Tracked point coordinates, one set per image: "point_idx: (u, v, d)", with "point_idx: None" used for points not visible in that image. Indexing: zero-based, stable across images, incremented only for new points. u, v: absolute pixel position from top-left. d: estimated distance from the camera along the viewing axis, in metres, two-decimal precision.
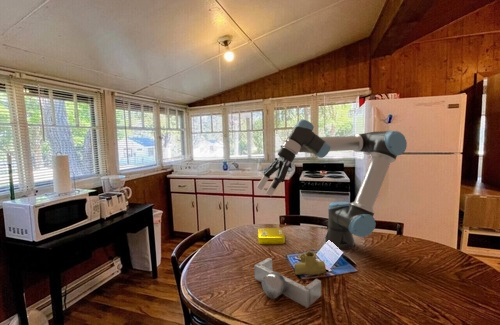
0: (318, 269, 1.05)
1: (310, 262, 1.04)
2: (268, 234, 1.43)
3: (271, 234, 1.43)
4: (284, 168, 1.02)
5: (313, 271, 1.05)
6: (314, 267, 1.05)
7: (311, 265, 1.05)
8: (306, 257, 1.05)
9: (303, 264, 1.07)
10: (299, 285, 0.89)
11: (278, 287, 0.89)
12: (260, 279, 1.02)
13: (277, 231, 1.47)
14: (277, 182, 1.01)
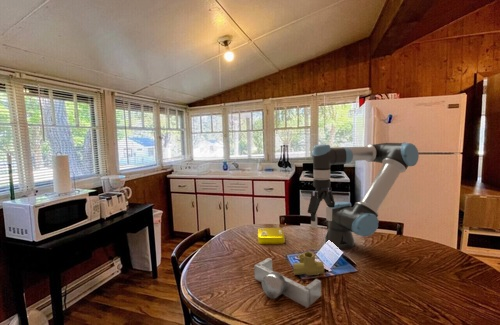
0: (316, 269, 1.04)
1: (308, 262, 1.04)
2: (268, 234, 1.43)
3: (271, 234, 1.43)
4: (311, 199, 1.09)
5: (311, 271, 1.04)
6: (312, 267, 1.05)
7: (309, 265, 1.04)
8: (304, 257, 1.05)
9: (302, 264, 1.07)
10: (299, 285, 0.89)
11: (278, 287, 0.89)
12: (260, 279, 1.02)
13: (277, 231, 1.47)
14: (312, 215, 1.09)
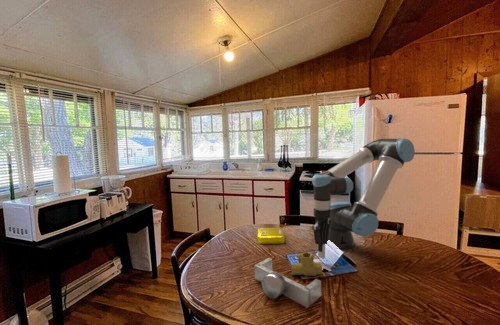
0: (314, 270, 1.04)
1: (306, 263, 1.04)
2: (268, 234, 1.43)
3: (271, 234, 1.43)
4: (315, 233, 1.13)
5: (309, 272, 1.04)
6: (310, 268, 1.04)
7: (307, 266, 1.04)
8: (302, 258, 1.05)
9: (300, 264, 1.06)
10: (299, 285, 0.89)
11: (278, 287, 0.89)
12: (260, 279, 1.02)
13: (277, 231, 1.47)
14: (319, 245, 1.15)
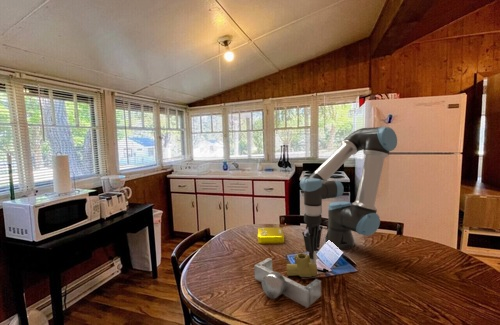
0: (309, 272, 1.02)
1: (301, 264, 1.03)
2: (268, 233, 1.44)
3: (271, 233, 1.43)
4: (305, 240, 1.08)
5: (304, 273, 1.03)
6: (305, 269, 1.03)
7: (302, 267, 1.03)
8: (297, 259, 1.04)
9: (295, 265, 1.05)
10: (299, 285, 0.89)
11: (278, 287, 0.89)
12: (260, 279, 1.02)
13: (277, 231, 1.48)
14: (310, 252, 1.10)
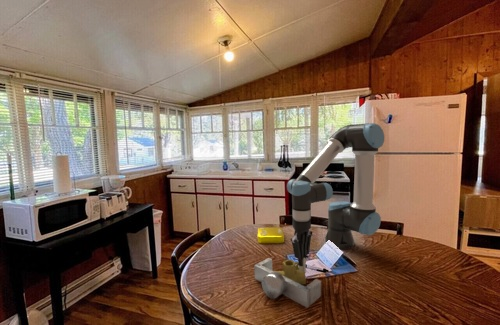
0: (297, 280, 0.97)
1: (288, 271, 0.97)
2: (267, 233, 1.44)
3: (270, 233, 1.44)
4: (294, 246, 1.02)
5: None
6: (293, 277, 0.98)
7: (289, 275, 0.98)
8: (284, 266, 0.98)
9: (282, 273, 1.00)
10: (299, 285, 0.89)
11: (278, 287, 0.89)
12: (260, 279, 1.02)
13: (277, 230, 1.48)
14: (299, 259, 1.05)
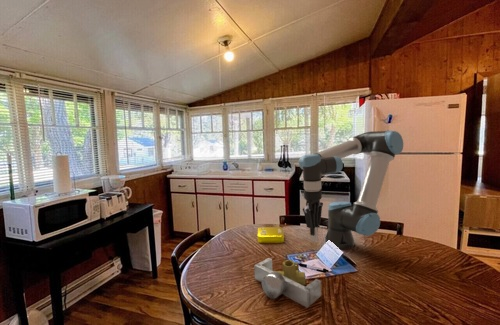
0: (296, 280, 0.97)
1: (288, 272, 0.97)
2: (267, 233, 1.44)
3: (270, 233, 1.44)
4: (306, 216, 1.07)
5: None
6: (292, 277, 0.98)
7: (289, 275, 0.98)
8: (284, 266, 0.98)
9: (282, 273, 1.00)
10: (299, 285, 0.89)
11: (278, 287, 0.89)
12: (260, 279, 1.02)
13: (277, 230, 1.48)
14: (311, 229, 1.09)
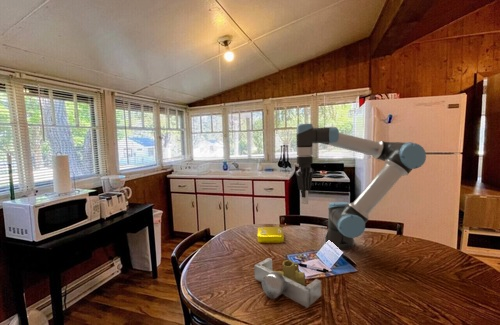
0: (295, 280, 0.97)
1: (287, 272, 0.97)
2: (267, 233, 1.45)
3: (270, 233, 1.44)
4: (298, 178, 1.18)
5: None
6: (291, 278, 0.98)
7: (288, 275, 0.98)
8: (283, 266, 0.98)
9: (281, 273, 1.00)
10: (299, 285, 0.89)
11: (278, 287, 0.89)
12: (260, 279, 1.02)
13: (277, 230, 1.48)
14: (302, 191, 1.21)
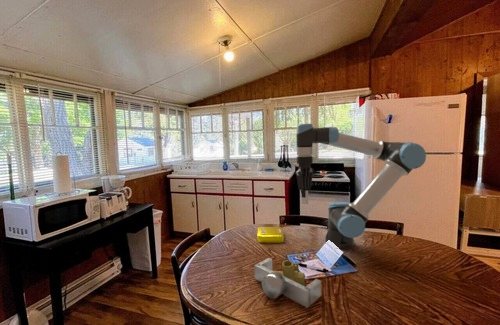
0: (295, 281, 0.97)
1: (286, 272, 0.97)
2: (267, 233, 1.45)
3: (270, 233, 1.44)
4: (298, 178, 1.18)
5: None
6: (291, 278, 0.97)
7: (287, 275, 0.98)
8: (282, 266, 0.98)
9: (281, 273, 1.00)
10: (299, 285, 0.89)
11: (278, 287, 0.89)
12: (260, 279, 1.02)
13: (277, 230, 1.49)
14: (302, 191, 1.21)
